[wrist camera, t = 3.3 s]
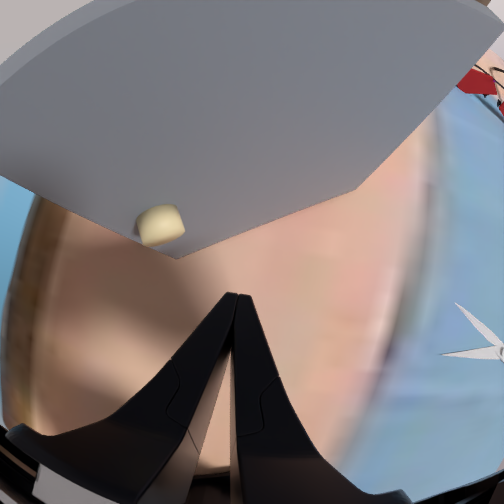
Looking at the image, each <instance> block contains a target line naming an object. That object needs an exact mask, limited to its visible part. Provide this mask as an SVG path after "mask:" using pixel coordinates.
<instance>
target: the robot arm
mask: <svg viewBox="0 0 504 504" xmlns="http://www.w3.org/2000/svg"><path fill="white" fill-rule="evenodd" d="M230 352H231V366H230V472H226V473H219V474H211V475H201V476H193V475H194V472H195V469H196V466H197V462H198V459H199V455H200V453H201V449H202V446H203V443H204V439H205V436H206V433H207V430H208V426H209V423H210V420H211V416H212V413H213V410H214V407H215V403H216V400H217V397H218V393H219V390H220V387H221V383H222V380H223V377H224V373H225V370H226V366H227V363H228V360H229V356H230ZM0 504H504V469H502V470H500V471H498V472H496V473H493V474H491V475H489V476H486V477H484V478H482V479H479V480H477V481H474V482H471V483H468V484H466V485H463V486H460V487H457V488H454V489H451V490H448V491H445V492H442V493H439V494H436V495H433V496H431V497H428V498H425V499H422V500H419V501H416V502H413V503H412V501H411V500H410V499H409V497H408V496H407V495H406V494H405V492H404V491H403V490H401V489H400V490H395V491H390V492H386V493H381V494H375V495H373V494H368V493H365V492H363V491H361V490H360V489H358V488H357V487H356V486H355V485H354V484H352V483H351V482H350V481H349V480H348V479H346V478H345V477H344V476H343V475H342V474H341V473H340V472H338V471H337V470H336V469H335V468H334V467H333V466H332V465H331V464H329V463H328V462H327V461H326V460H325V459H324V458H323V457H322V456H321V455H320V453H319V452H318V451H317V449H316V448H315V446H314V445H313V443H312V441H311V440H310V438H309V436H308V434H307V433H306V431H305V429H304V427H303V425H302V424H301V422H300V420H299V418H298V416H297V415H296V413H295V411H294V409H293V407H292V405H291V403H290V401H289V398H288V396H287V394H286V391H285V389H284V386H283V384H282V381H281V378H280V377H279V373H278V370H277V367H276V365H275V362H274V359H273V356H272V353H271V351H270V348H269V345H268V342H267V339H266V337H265V334H264V331H263V328H262V325H261V323H260V320H259V317H258V314H257V311H256V308H255V305H254V303H253V300H252V297H251V296H250V295H246V294H239V296H238V294H237V293H232V292H226V293H225V294H224V296H223V297H222V298H221V299H220V300H219V302H218V303H217V304H216V305H215V306H214V307H213V309H212V310H211V311H210V312H209V313H208V315H207V316H206V317H205V318H204V319H203V321H202V322H201V323H200V324H199V325H198V326H197V328H196V329H195V330H194V331H193V332H192V334H191V335H190V336H189V337H188V338H187V340H186V341H185V342H184V343H183V344H182V345H181V347H180V348H179V349H178V350H177V351H176V353H175V354H174V355H173V356H172V357H171V359H170V360H169V361H168V362H167V363H166V364H165V365H164V367H163V368H162V369H161V370H160V371H159V372H158V373H157V374H156V375H155V376H154V377H153V378H152V379H151V380H150V381H149V382H148V383H147V384H146V385H145V386H144V387H143V388H142V389H141V390H140V391H139V392H137V393H136V394H135V395H134V396H133V397H132V398H131V399H129V400H128V401H127V402H126V403H125V404H124V405H123V406H122V407H120V408H119V409H118V410H117V411H116V412H114V413H113V414H112V415H110V416H109V417H107V418H105V419H103V420H101V421H98V422H95V423H92V424H90V425H87V426H84V427H81V428H78V429H75V430H72V431H69V432H65V433H62V434H59V435H54V436H46V435H42V434H40V433H38V432H37V431H35V430H34V429H32V428H30V427H29V426H27V425H26V424H24V423H21V424H19V425H17V426H15V427H13V428H12V429H10V430H9V431H8V430H7V429H5V428H4V427H3V426H1V425H0Z"/></svg>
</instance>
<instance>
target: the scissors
mask: <svg viewBox="0 0 504 504" xmlns="http://www.w3.org/2000/svg"><path fill="white" fill-rule="evenodd" d="M456 305H457V306H458V307H459V308H460V309H461V310H462V312H463V313H464V314H465V315H466V317H467V318H468V319H469V320H470V321H471V323H472V324H473V325H474V326H475V327H476V328H477V329H478V330H479V331H480V333H481V334H483V335H484V337H485V338H486V339H487V340H488V341H489V342H491V343H492V344H494V345H495V346H492V347H486V348H480V349H474V350H468V351H462V352H456V353H449V354H442V355H446V356H455V357H465V358H476V359H500V360H501V361H502V362H503V363H504V344H503V343H502V342H501V341H500V340H499V338H498V337H497V336H496V335H495V334H494V333H493V332H492V331H491V330H490V329H488V328H487V327H486V326H485V325H484V324H483V323H481V322H480V321H479V320H478V319H476V318H475V317H474V316H473V315H472V314H471V313H469V312H468V311H467V310H466V309H464V308H463V307H461V306H460V305H458V304H457V303H456Z"/></svg>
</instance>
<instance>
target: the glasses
mask: <svg viewBox="0 0 504 504" xmlns="http://www.w3.org/2000/svg"><path fill="white" fill-rule="evenodd" d="M474 66H476V67H477V68H479V69H480V70H482V71H483V72H484V73H482V72H480V71H477V70H474V69H472V68H471V69H470V70H469V72H468V73H467V74H466V75H465V76H464V77H463V78H462V79H461V80H460V82H459V83H458V84H457V86H458V88H459V89H460V90H462V91H463V92H465V93H471V94H483V95H484V98H485V97H486V96H487V95H490V94H492V95H497V91H496V87H495V84H494V82H496V83H497V84H498V85H500V86H501V87H502V88H503V89H504V87H503V86H502V85H501V84H500V83H498V82H497V81H496V80H495V79H494V78H493V77H492V76H490V75H489V74H488V73H487V72H485V71H484V70H483V69H482V68H480V67H479V66H477V65H476V64H475V65H474ZM494 68H495V70H497V71H500V72H503V73H504V70H502V69H499V68H496V67H494ZM499 105H500V106H499ZM498 106H499V110H500V111H501V112H502V114H503V116H504V102H503V103H502V104H501V101H499V99H498V102H497V107H498Z"/></svg>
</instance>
